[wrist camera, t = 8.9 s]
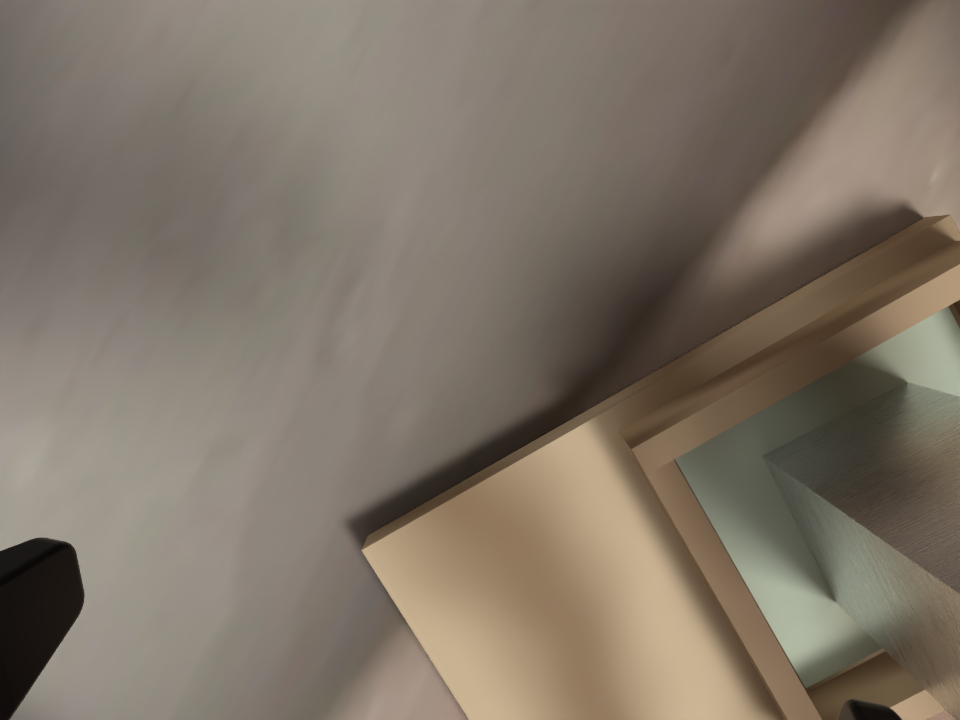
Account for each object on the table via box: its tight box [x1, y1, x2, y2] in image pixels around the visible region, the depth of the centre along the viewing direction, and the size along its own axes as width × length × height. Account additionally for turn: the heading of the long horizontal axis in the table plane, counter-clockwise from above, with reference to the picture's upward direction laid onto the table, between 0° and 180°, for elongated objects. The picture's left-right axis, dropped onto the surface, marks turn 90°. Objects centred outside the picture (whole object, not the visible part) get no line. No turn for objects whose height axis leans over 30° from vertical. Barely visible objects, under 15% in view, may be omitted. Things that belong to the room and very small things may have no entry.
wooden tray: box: [361, 215, 960, 720], centre depth 21 cm, size 19×12×3 cm, turn 121°
